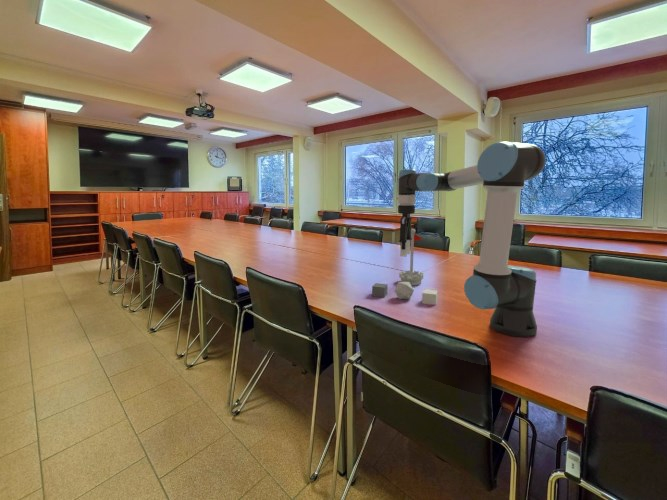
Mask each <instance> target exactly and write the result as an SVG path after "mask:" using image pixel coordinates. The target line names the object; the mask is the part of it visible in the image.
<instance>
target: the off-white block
mask: <svg viewBox="0 0 667 500" xmlns="http://www.w3.org/2000/svg"><path fill="white" fill-rule="evenodd" d="M438 292H439V291H438V290H434V289H426V288H425V289H424V290H423V291H422V294H421V296H422V297H421V304H424V305H425V304H426V305H433V306H436V305H437V303H438V297H439V296H438V295H439V293H438Z"/></svg>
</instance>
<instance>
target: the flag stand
mask: <svg viewBox="0 0 667 500" xmlns="http://www.w3.org/2000/svg"><path fill="white" fill-rule="evenodd" d="M411 238H412V240H410V256H409V257H410V263H409V270H408V269H407V270H405V272H404V271H402V270H401V271H399V274H398V275H399V277H398V278H400V282H409V283H410V284H411V286H419V285H421V284H422V280H423V279H424V278H425V277H424V272H423V271H422V272H419V271H418V270H414V251H415V250H414V249H415V248H414V247H415V246H414V244H415V243H416V242H418V241H419V240H422V239H423V238H422V237H421V236H419V235H417V234H416V229H415V228H411Z"/></svg>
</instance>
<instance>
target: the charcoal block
mask: <svg viewBox="0 0 667 500" xmlns="http://www.w3.org/2000/svg"><path fill="white" fill-rule="evenodd" d="M371 287H372V289H371V294H372V297H377V298H385V297H386V296H387V295H388V284H387V283H377V282H376V283H374V284H373V285H372V286H371Z"/></svg>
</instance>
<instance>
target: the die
mask: <svg viewBox="0 0 667 500" xmlns="http://www.w3.org/2000/svg"><path fill="white" fill-rule="evenodd" d="M414 292H415V289H414V287H413V285H411V284H410V283H409V282H401V281H398V282H397V284H396V287H395V289H394V293H395V294H396V296H397V298H398V300H411V297H412V296H413V294H414Z"/></svg>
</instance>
